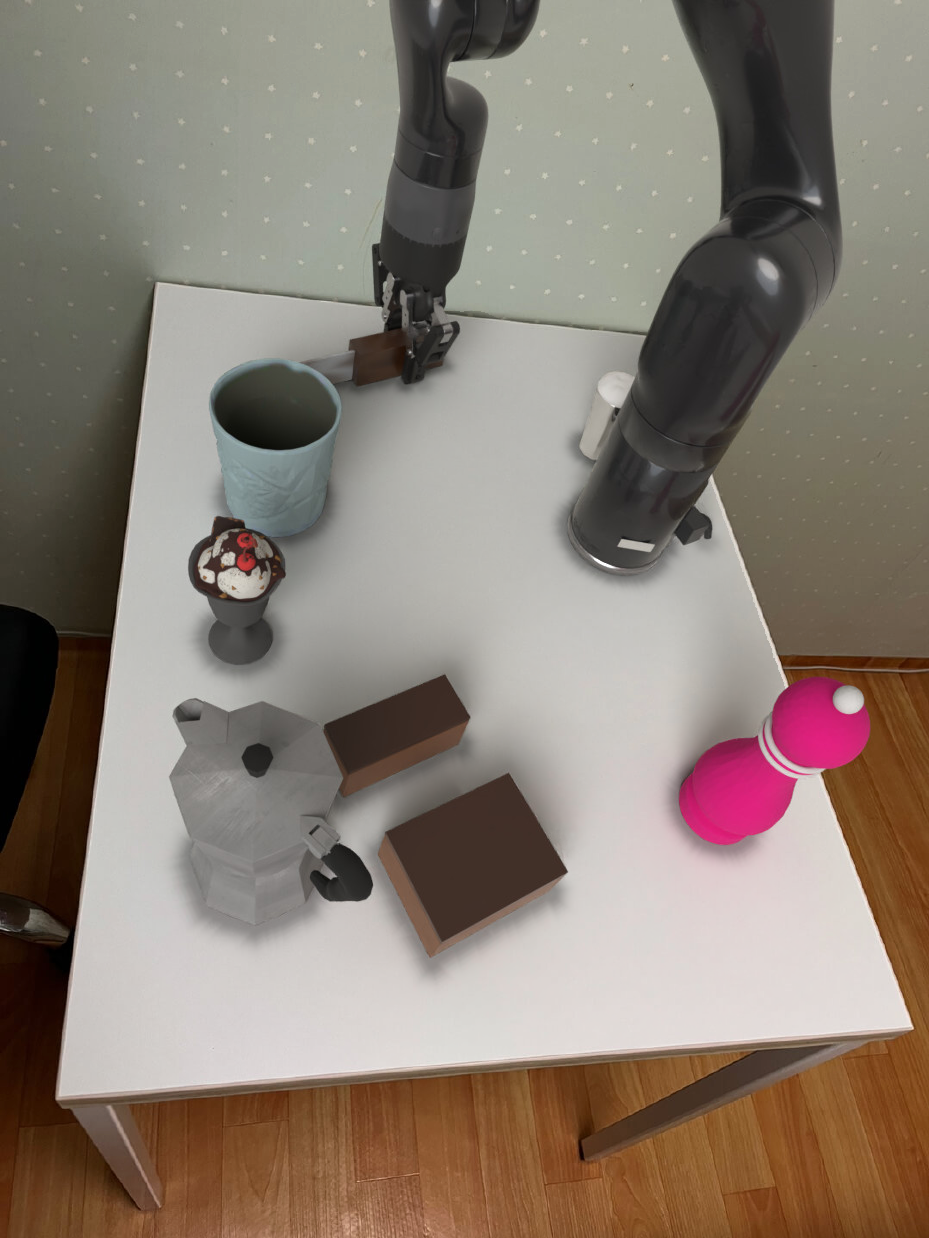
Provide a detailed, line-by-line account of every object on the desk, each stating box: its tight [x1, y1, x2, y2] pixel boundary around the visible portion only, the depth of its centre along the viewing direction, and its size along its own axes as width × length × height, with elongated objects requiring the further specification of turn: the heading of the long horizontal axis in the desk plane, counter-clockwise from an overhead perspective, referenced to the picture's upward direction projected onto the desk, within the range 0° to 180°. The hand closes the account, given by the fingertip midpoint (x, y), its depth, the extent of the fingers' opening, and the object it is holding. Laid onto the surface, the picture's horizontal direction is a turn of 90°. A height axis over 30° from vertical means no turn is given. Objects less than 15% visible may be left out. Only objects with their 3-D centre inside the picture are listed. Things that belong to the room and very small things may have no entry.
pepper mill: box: [678, 676, 871, 846], centre depth 61 cm, size 7×7×20 cm
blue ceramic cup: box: [208, 357, 343, 538], centre depth 72 cm, size 10×10×12 cm
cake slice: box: [322, 673, 471, 798], centre depth 65 cm, size 10×4×5 cm, turn 120°
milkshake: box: [578, 371, 635, 461], centre depth 84 cm, size 4×5×10 cm
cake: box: [377, 772, 569, 959], centre depth 61 cm, size 10×8×5 cm
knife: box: [297, 328, 445, 387], centre depth 85 cm, size 21×2×4 cm, turn 120°
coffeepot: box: [168, 697, 374, 926], centre depth 53 cm, size 15×9×18 cm, turn 49°
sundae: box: [187, 515, 287, 666], centre depth 63 cm, size 7×7×15 cm
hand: (401, 365), depth 89 cm, fingers open, 4 cm apart
